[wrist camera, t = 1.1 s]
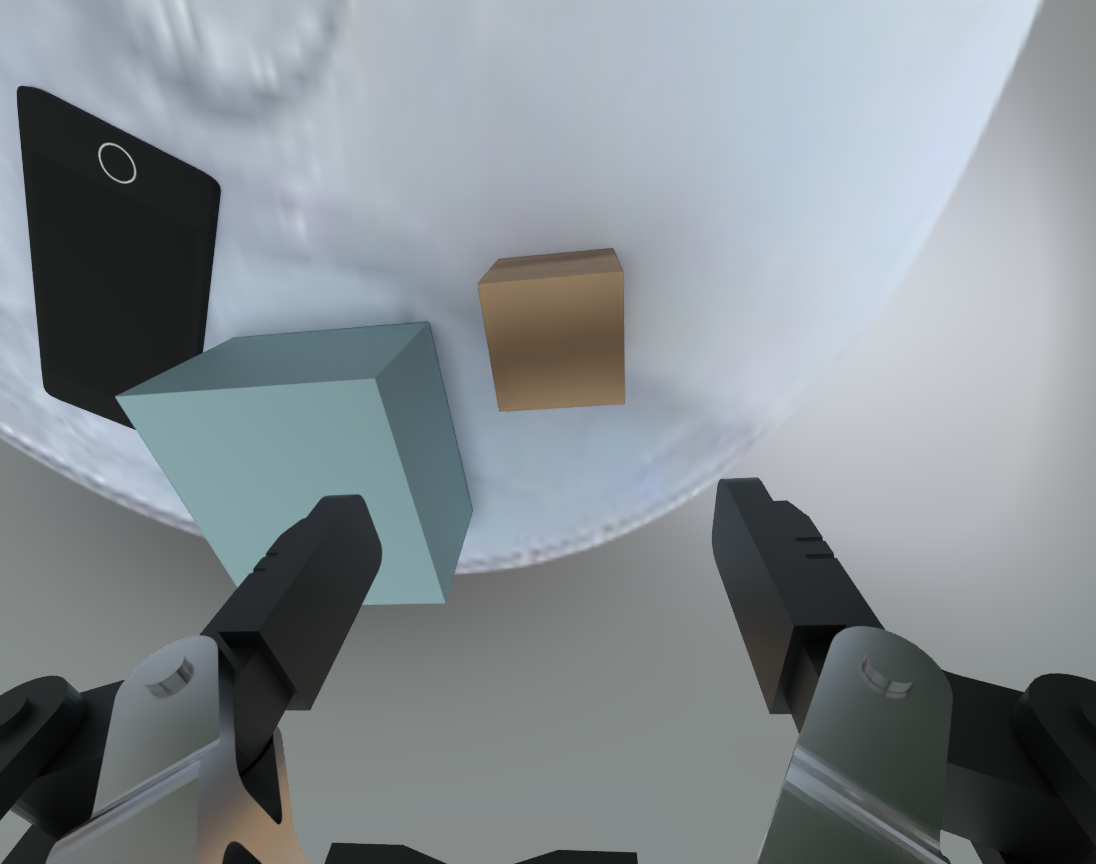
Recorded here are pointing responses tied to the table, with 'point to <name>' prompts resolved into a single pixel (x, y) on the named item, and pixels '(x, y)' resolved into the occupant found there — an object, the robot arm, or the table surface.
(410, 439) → the stand
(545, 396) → the walnut cube
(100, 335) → the cell phone
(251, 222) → the table surface
